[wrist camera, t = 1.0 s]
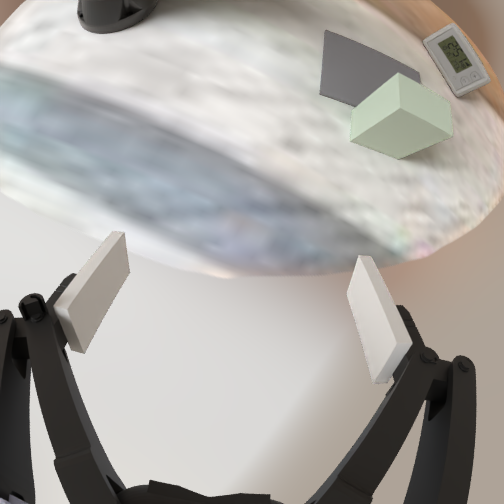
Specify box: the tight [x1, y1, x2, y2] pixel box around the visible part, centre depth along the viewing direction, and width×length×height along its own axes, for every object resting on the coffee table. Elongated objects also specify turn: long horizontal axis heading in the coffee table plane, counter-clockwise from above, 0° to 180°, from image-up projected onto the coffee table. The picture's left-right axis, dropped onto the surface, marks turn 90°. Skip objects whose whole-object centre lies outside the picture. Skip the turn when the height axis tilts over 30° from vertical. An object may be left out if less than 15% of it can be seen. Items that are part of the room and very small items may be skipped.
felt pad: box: [320, 30, 420, 107], centre depth 46 cm, size 16×22×1 cm
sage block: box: [350, 73, 453, 160], centre depth 39 cm, size 6×10×14 cm, turn 80°
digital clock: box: [423, 23, 491, 97], centre depth 45 cm, size 16×9×11 cm, turn 15°
